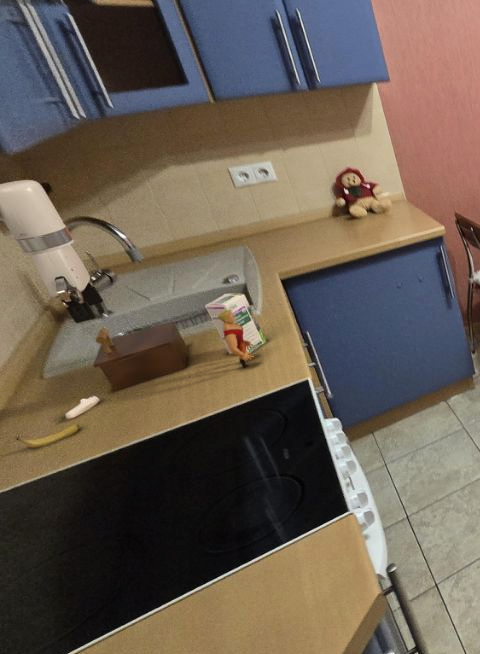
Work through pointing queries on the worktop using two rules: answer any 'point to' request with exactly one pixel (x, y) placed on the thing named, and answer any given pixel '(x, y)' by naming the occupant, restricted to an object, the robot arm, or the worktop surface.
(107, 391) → the worktop surface
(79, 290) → the robot arm
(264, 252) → the worktop surface
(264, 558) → the worktop surface
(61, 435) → the banana
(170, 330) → the lid
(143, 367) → the chest
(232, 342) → the action figure
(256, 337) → the syrup box
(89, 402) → the small white plastic part
